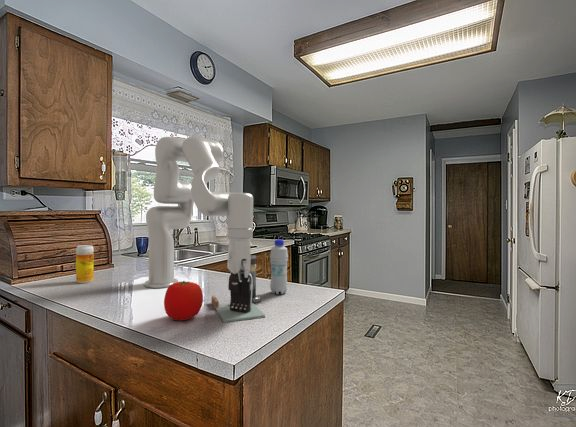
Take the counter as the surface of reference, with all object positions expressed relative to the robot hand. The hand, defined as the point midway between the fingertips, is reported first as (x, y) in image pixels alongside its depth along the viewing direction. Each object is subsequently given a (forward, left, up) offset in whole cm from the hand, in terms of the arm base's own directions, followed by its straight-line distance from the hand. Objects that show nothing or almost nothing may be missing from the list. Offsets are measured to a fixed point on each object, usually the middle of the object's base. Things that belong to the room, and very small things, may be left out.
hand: (239, 290), depth 95 cm
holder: (-9, -1, -7) cm, 11 cm away
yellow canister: (-59, -50, -7) cm, 78 cm away
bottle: (-16, +19, -7) cm, 26 cm away
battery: (0, 0, -6) cm, 6 cm away
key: (-6, +6, -5) cm, 10 cm away
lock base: (-9, +7, -7) cm, 13 cm away
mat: (0, 0, -7) cm, 7 cm away
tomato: (-1, -16, -7) cm, 17 cm away
